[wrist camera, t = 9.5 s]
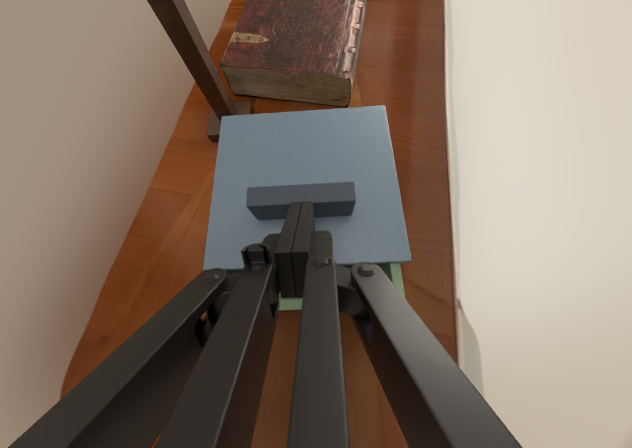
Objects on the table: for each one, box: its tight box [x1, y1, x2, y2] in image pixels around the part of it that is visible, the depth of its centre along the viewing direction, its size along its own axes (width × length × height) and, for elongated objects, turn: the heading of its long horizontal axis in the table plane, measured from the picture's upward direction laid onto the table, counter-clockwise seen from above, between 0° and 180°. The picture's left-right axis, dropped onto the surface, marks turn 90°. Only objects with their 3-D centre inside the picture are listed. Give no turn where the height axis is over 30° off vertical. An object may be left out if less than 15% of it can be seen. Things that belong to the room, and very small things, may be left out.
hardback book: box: [220, 0, 367, 107], centre depth 38 cm, size 29×19×5 cm, turn 170°
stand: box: [147, 0, 253, 142], centre depth 25 cm, size 6×6×20 cm
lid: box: [203, 106, 411, 271], centre depth 19 cm, size 17×16×4 cm
